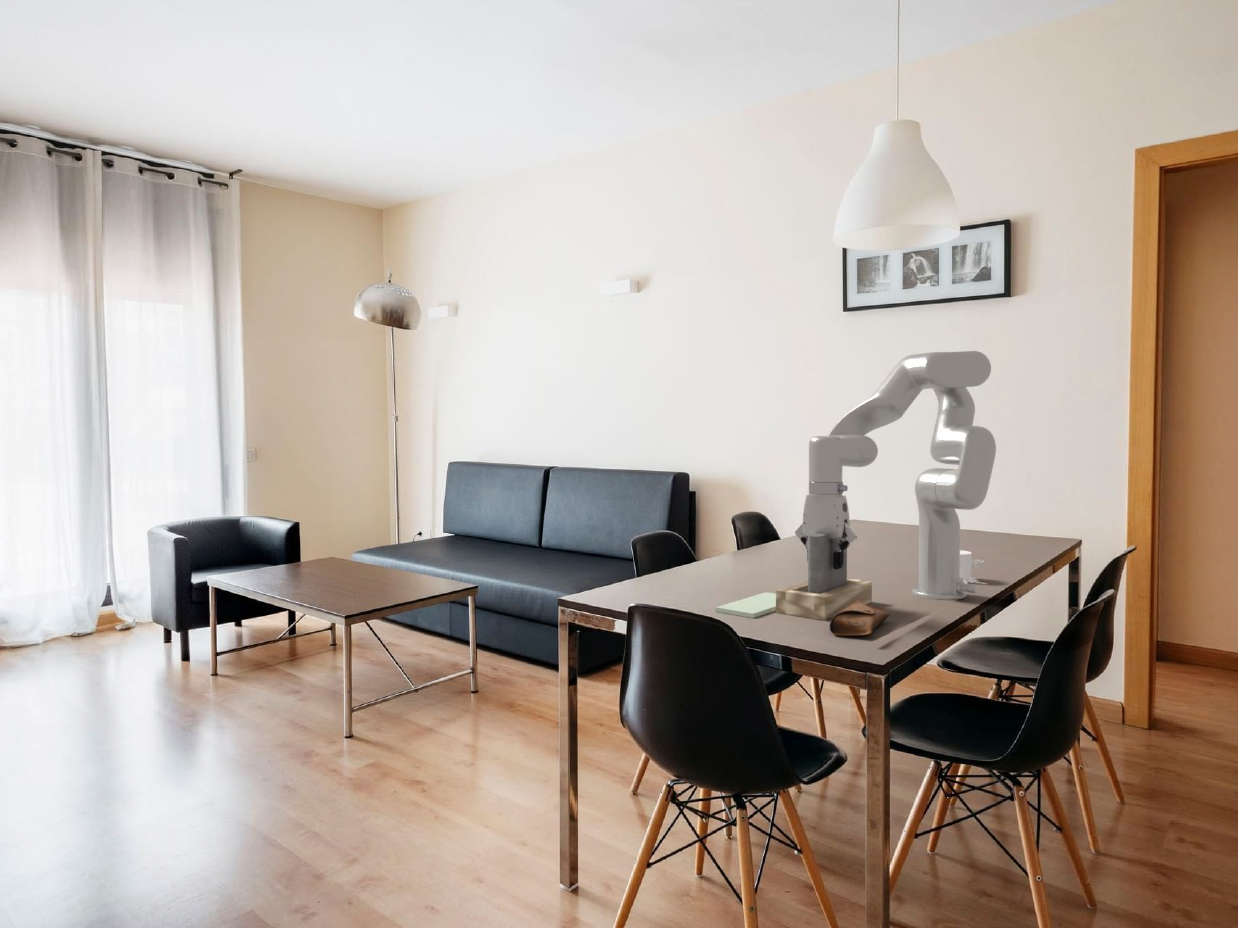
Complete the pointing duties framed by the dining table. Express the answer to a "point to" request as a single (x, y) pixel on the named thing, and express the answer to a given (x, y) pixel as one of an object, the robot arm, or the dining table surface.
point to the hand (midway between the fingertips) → (825, 566)
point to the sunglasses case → (857, 620)
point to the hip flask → (824, 565)
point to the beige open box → (822, 599)
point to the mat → (750, 606)
